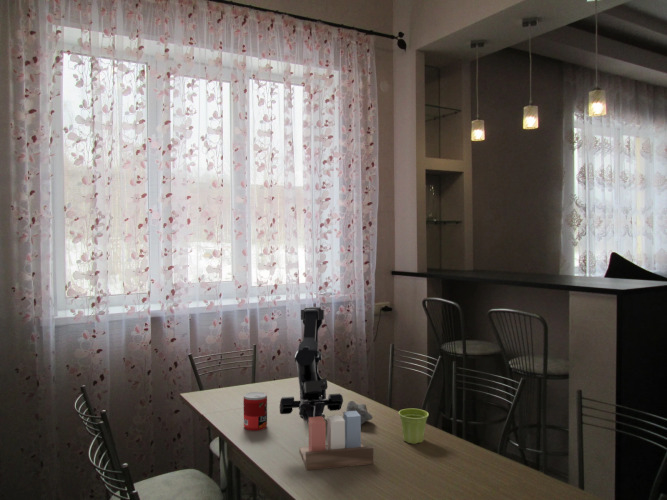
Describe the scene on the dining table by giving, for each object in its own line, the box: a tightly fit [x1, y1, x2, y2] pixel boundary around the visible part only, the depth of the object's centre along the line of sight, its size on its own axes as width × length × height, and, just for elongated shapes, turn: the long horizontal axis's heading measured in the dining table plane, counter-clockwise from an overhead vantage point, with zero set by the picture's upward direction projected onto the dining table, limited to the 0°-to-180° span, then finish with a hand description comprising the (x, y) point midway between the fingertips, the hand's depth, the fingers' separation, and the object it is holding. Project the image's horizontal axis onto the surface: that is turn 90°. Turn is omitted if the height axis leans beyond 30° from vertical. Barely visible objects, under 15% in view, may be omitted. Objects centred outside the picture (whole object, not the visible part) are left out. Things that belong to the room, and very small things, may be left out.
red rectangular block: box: [308, 416, 327, 452], centre depth 153 cm, size 5×4×10 cm
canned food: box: [243, 391, 268, 432], centre depth 182 cm, size 8×8×11 cm
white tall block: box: [326, 414, 345, 450], centre depth 154 cm, size 5×4×10 cm
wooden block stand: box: [299, 441, 374, 471], centre depth 155 cm, size 13×19×4 cm
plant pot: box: [398, 408, 429, 445], centre depth 169 cm, size 9×9×9 cm
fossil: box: [345, 400, 373, 425], centre depth 185 cm, size 11×9×8 cm
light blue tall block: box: [342, 411, 362, 448], centre depth 158 cm, size 5×4×10 cm
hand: (314, 430), depth 156 cm, fingers closed, pressing on red rectangular block
